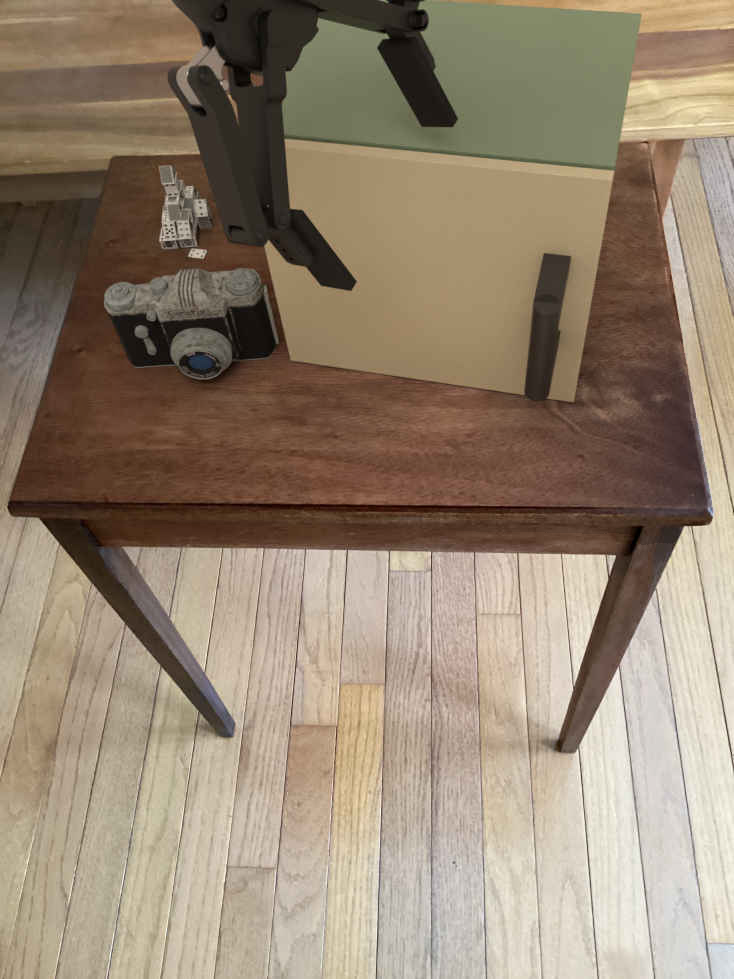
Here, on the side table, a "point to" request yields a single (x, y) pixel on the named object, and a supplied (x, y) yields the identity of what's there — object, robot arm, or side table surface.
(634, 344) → the side table surface
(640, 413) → the side table surface
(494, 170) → the cupboard door
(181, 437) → the side table surface
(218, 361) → the camera
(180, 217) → the house of cards
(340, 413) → the side table surface
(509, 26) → the cupboard
